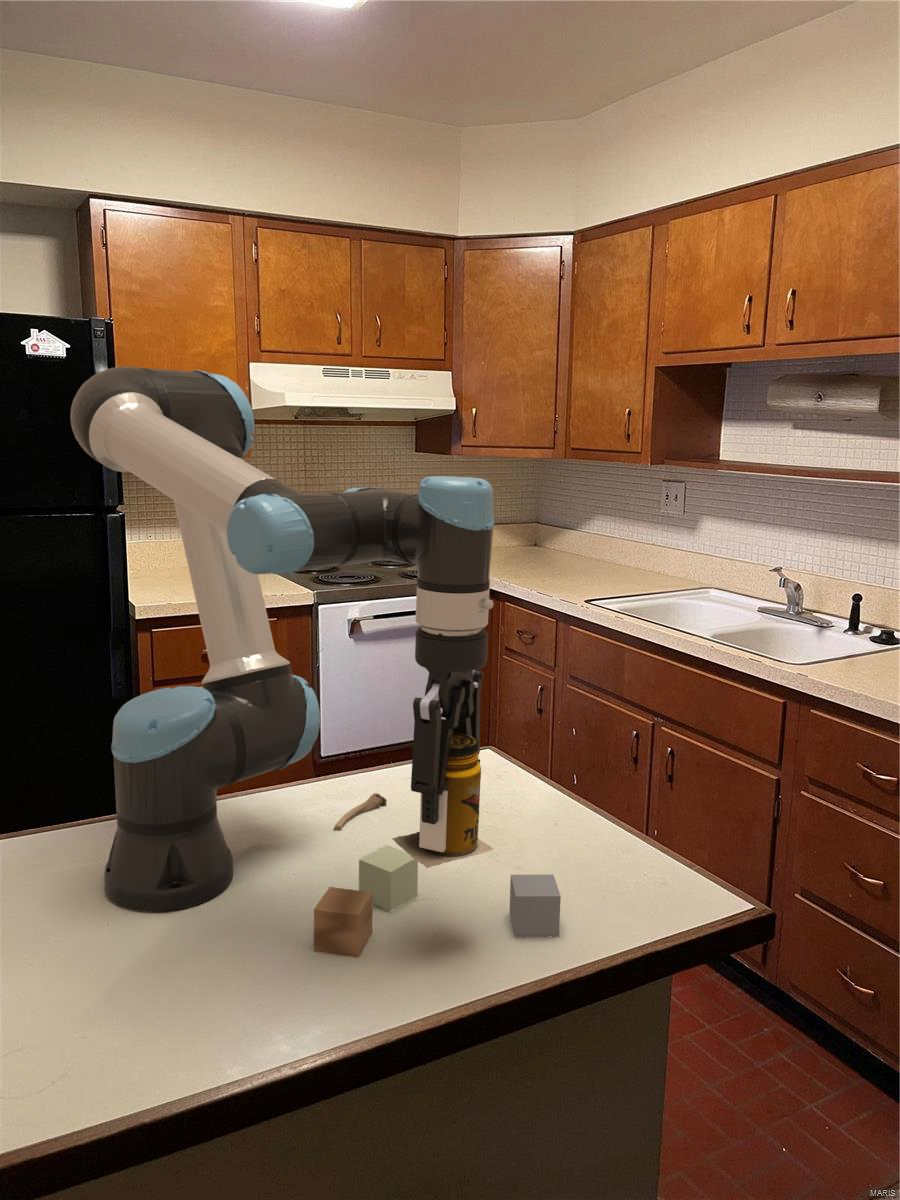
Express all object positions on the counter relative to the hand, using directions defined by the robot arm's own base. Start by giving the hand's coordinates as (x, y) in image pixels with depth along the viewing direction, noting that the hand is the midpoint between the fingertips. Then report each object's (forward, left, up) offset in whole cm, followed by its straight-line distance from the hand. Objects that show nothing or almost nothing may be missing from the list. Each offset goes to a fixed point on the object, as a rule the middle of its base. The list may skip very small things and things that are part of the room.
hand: (444, 834), depth 98 cm
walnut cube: (-10, -5, -12) cm, 16 cm away
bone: (-24, +25, -13) cm, 37 cm away
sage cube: (-10, +6, -12) cm, 17 cm away
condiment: (0, -1, -1) cm, 1 cm away
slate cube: (+8, +7, -12) cm, 16 cm away
